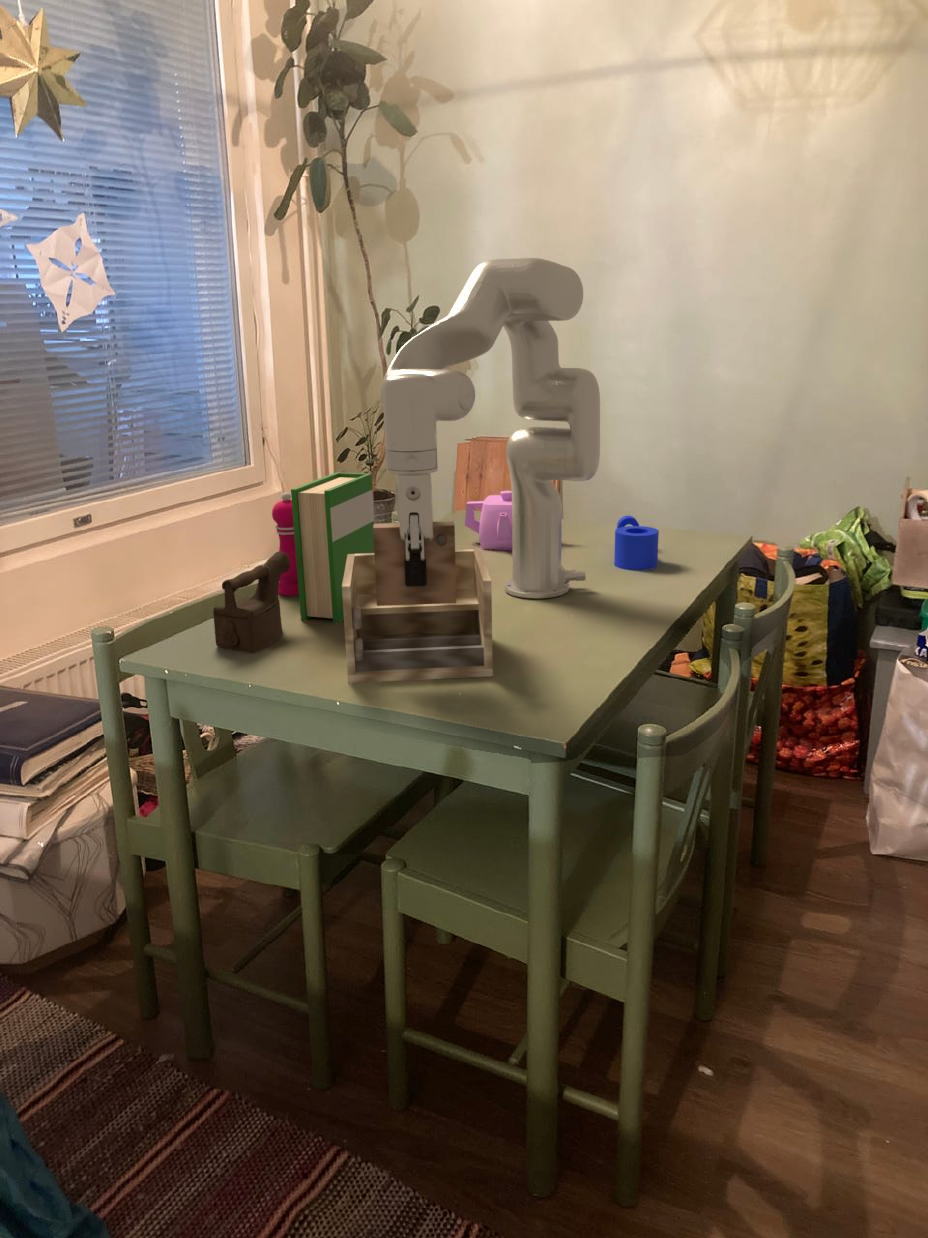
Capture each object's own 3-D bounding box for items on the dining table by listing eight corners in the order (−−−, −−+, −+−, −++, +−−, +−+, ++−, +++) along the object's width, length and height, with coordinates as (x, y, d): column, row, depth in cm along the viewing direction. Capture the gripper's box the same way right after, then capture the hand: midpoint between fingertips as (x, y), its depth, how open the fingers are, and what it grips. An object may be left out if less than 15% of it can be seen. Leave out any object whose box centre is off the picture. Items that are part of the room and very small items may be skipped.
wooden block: (455, 597, 151) (453, 521, 148) (456, 605, 147) (455, 527, 144) (377, 600, 150) (373, 523, 147) (376, 608, 146) (373, 529, 143)
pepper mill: (277, 587, 198) (269, 489, 192) (313, 585, 199) (306, 488, 193) (273, 597, 192) (265, 496, 185) (310, 595, 192) (303, 495, 186)
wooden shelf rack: (481, 635, 168) (480, 548, 163) (492, 676, 149) (491, 580, 145) (353, 640, 166) (347, 554, 162) (347, 682, 148) (341, 586, 143)
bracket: (660, 571, 205) (661, 535, 202) (616, 571, 205) (617, 536, 203) (647, 548, 223) (648, 515, 221) (607, 548, 224) (607, 515, 221)
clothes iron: (307, 626, 174) (301, 553, 170) (251, 655, 161) (244, 576, 157) (270, 621, 178) (264, 549, 174) (213, 648, 164) (205, 571, 160)
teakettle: (511, 531, 241) (510, 481, 237) (558, 543, 228) (559, 491, 224) (456, 543, 231) (455, 491, 227) (503, 556, 218) (502, 501, 215)
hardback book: (337, 623, 175) (329, 491, 168) (301, 620, 178) (290, 489, 170) (378, 596, 191) (371, 473, 184) (344, 593, 194) (336, 472, 186)
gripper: (439, 469, 135) (443, 596, 141) (435, 452, 151) (438, 567, 156) (385, 470, 135) (390, 598, 140) (386, 453, 150) (391, 569, 156)
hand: (415, 581), depth 148 cm, fingers closed on wooden block, 3 cm apart
